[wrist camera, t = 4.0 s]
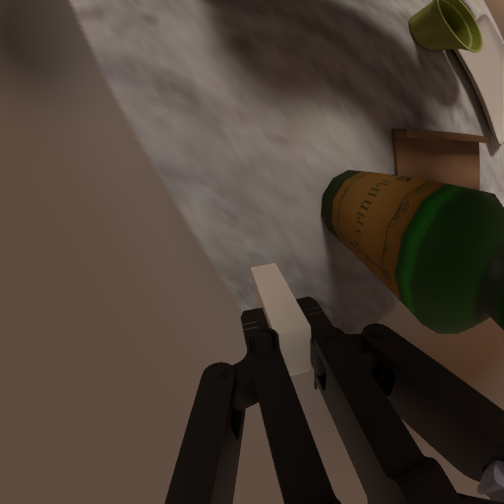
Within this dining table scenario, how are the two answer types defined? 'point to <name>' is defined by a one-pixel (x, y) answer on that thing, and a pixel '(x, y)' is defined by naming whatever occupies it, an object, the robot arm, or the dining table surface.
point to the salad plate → (487, 75)
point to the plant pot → (446, 27)
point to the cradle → (438, 156)
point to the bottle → (424, 244)
